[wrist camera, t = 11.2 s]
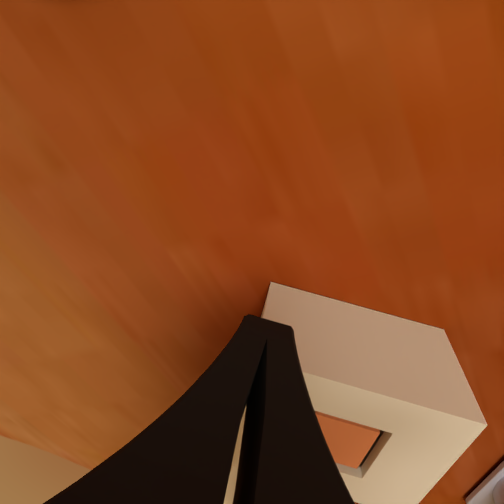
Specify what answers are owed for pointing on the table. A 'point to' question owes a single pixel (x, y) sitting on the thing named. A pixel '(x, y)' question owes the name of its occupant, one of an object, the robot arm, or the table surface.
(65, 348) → the table surface
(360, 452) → the button
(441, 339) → the cabinet
